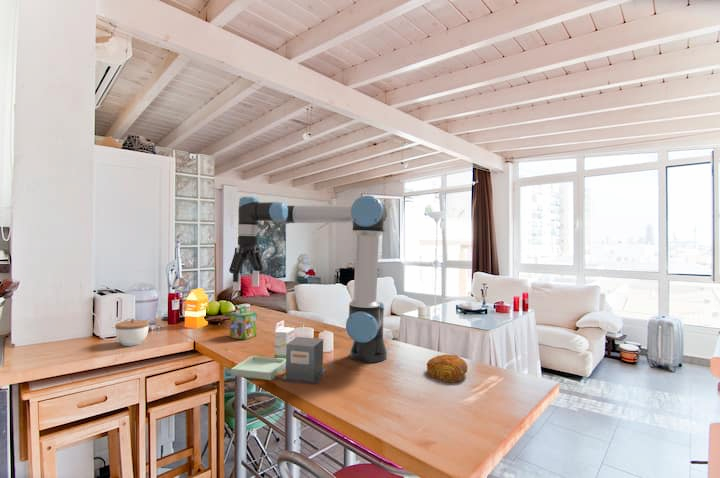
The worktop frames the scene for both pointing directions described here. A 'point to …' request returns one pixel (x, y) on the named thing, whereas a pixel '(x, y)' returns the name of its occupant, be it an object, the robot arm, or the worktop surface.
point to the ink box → (282, 339)
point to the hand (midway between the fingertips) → (246, 288)
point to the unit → (304, 360)
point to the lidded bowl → (132, 332)
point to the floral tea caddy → (243, 324)
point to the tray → (259, 367)
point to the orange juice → (196, 309)
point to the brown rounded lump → (447, 367)
